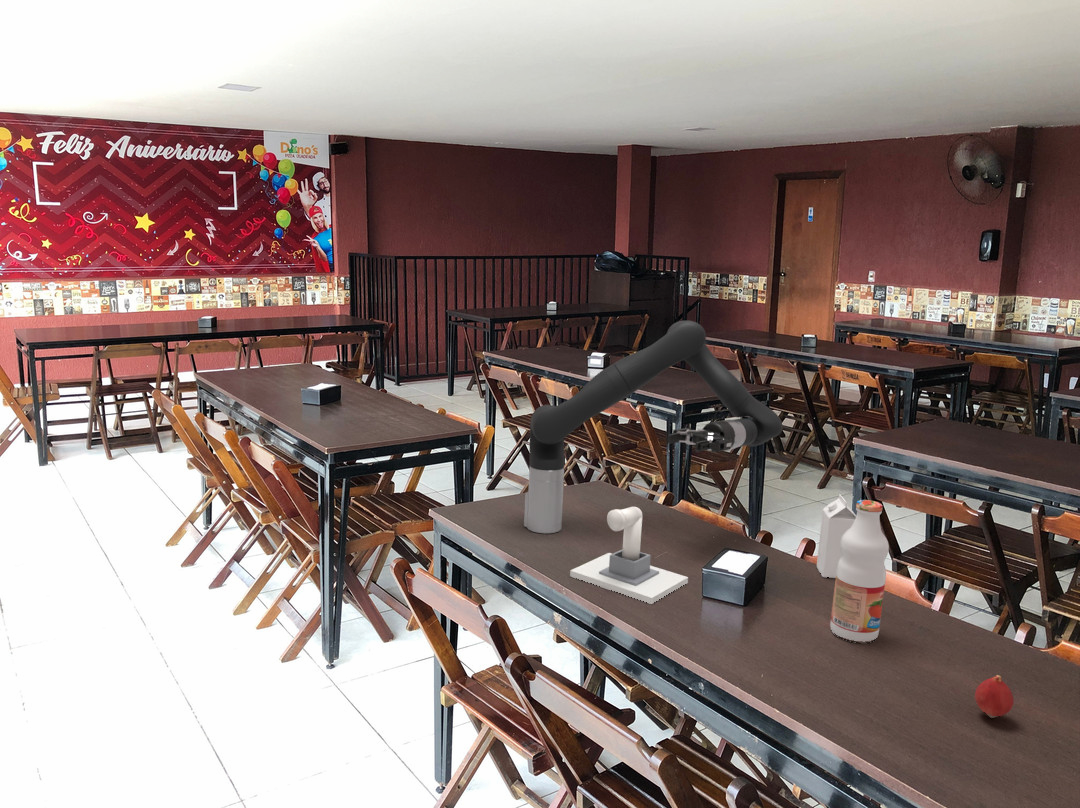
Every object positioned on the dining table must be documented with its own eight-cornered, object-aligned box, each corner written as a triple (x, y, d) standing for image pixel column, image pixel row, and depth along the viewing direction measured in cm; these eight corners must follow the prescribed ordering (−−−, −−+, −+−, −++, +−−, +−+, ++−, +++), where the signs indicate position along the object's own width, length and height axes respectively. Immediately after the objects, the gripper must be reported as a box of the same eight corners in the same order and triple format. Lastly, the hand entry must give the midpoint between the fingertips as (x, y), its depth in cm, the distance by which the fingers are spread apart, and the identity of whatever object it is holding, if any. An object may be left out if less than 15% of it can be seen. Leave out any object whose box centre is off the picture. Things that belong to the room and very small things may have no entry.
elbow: (628, 565, 204) (632, 500, 201) (643, 572, 201) (648, 506, 198) (603, 573, 199) (607, 507, 196) (618, 580, 196) (623, 513, 192)
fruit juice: (828, 620, 185) (843, 493, 179) (875, 627, 182) (892, 499, 177) (830, 639, 176) (846, 507, 170) (880, 647, 173) (897, 513, 168)
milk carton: (845, 569, 214) (854, 495, 211) (852, 580, 207) (862, 503, 204) (816, 566, 215) (824, 492, 211) (822, 577, 208) (831, 501, 204)
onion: (965, 708, 152) (971, 666, 150) (996, 708, 152) (1003, 666, 151) (984, 727, 146) (991, 683, 144) (1017, 727, 146) (1024, 683, 145)
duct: (569, 576, 202) (571, 551, 201) (608, 558, 214) (610, 534, 213) (651, 604, 189) (653, 577, 188) (687, 583, 201) (689, 558, 200)
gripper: (702, 415, 223) (660, 421, 213) (749, 426, 213) (707, 434, 202) (700, 443, 225) (658, 451, 214) (745, 456, 214) (704, 465, 204)
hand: (682, 443), depth 208 cm, fingers open, 8 cm apart
